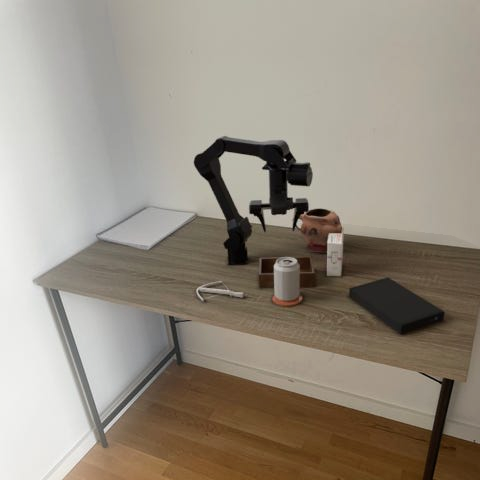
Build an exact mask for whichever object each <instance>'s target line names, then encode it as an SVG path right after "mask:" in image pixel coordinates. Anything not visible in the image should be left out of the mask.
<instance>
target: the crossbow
mask: <svg viewBox="0 0 480 480" xmlns="http://www.w3.org/2000/svg"><path fill="white" fill-rule="evenodd" d="M219 284H223V285H225V284H224V282H223V281H222V280H219V281H214V282H209V283H207V284H203V285H200V286H198V287H197V288H196V290H195V291H196V295H197V297H198V298H199V299H200V300H201V301H202V302H205V299H209V298H210V296H208V297H205V298H204V297H202V296H201V295H200V293H199V292H201V293H212V294H215V297H217V296H219V295H229V296H230V298H232V297H237V298H241V299H242V298H244V297H245V294H244V292H243V291H242V292H238V291H233V290H230V289H229V288H228V287H226V289H220V288H219V289H218V288H209V287H212V286H215V285H219ZM212 297H214V295H213V296H211V298H212Z"/></svg>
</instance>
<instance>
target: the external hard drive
mask: <svg viewBox="0 0 480 480" xmlns="http://www.w3.org/2000/svg"><path fill="white" fill-rule="evenodd" d="M348 297H349V298H350V299H352V300H353V301H354V302H355V303H357V304H358V305H360V306H361V307H362V308H364V309H365V310H366V311H368V312H369V313H371V314H372V315H373V316H375V317H377V318H378V319H379V320H380V321H382V322H383V323H384V324H386V325H387V326H388V327H390V328H391V329H393V330H394V331H395V332H397V333H398V334H399V335H401V336H402V335H404V334H408V333H410V332H413V331H417V330H420V329H422V328H426V327H429V326H432V325H434V324H437V323H440V322H443V321H444V318H445V317H444V316H445V311H444V310H443V309H441V308H440V307H438V306H436V305H434V304H433V303H431V302H429V301H428V300H427V299H424V298H423V297H421V296H420V295H418V294H416V293H414V292H413V291H411V290H410V289H408V288H407V287H405V286H403V285H401V284H400V283H399V282H397V281H395V280H393V279H392V278H391V277H383V278H380V279H377V280H374V281H370V282H366V283H363V284H359V285H356V286H353V287H350V288H349V291H348Z"/></svg>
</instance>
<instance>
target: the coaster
mask: <svg viewBox="0 0 480 480" xmlns="http://www.w3.org/2000/svg"><path fill="white" fill-rule="evenodd" d="M302 301H303V295H302V294H301V293H300V292H299V296H298V297H297V298H296V299H295V300H293V301H287V302H286V301H281V300H279V299H278V298H276V297H275V293H274V294H273V295H272V302H273V303H274V304H276V305H277V306H281V307H293V306H296V305H299V304H300V303H302Z"/></svg>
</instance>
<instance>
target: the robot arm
mask: <svg viewBox="0 0 480 480" xmlns="http://www.w3.org/2000/svg"><path fill="white" fill-rule="evenodd" d="M225 153H232V154H238V155H245V156H250V157H256V158H259V159H260V160H261V161H264V162H265V164H264V165H263V166H262V167H261V170H262V171H268V193H269V194H268V195H269V199H268V201H269V202H265V203H263V202H262V200H261V199H255V200H253V199H251V200H250V201H249V205H248V210H249V211H248V214H249V215H253V217H257V218H258V220H259V222H260V225H261V227H262V229H263V232H264V233H266V232H267V227H266V220H265V214H264V213H265V212H264V210H270V214H271V216H277V215H281V216H284V215H287V213H288V211H291V210H293V217H292V232H295V230H296V228H295V227H296V225H297V223H298V221H299V220H300V219H299V217H300V215H302V214H305V213H306V212H308V211H309V210H310V209H309V208H310V204H309V200H308V199H307V197H301V198H295V201H294V197H289V196H288V195H289V194H288V193H289V192H288V184H289V185H290V186H293V187H294V186H295V187H307V188H308V187H310V186H311V184H312V182H313V178H314V177H313V173H314V172H313V169H312V166H311V162H310V161H309V162H308V161H307V162H306V161H305V162H297V159H296V157H295V156H294V154H293V153H292V151H291V150H290V146H289V144H288V142H287V141H286V140H284V139H272V140H266V141H258V140H250V139H243V138H237V137H230V136H227V135H223V136H220V137H218V138H217V139H216V140H215V141H214V142H213V143H211V145H210V146H209V147H207V148H206V149H205V150H204V151H201V152H200V153H198V154H196V155H195V157H194V159H193V166H194V168H195V169H196V171H197V173H198V174H199V175H200V176H201V177H202V178H203V179H204V180H206V182H207V183H208V185H209V187H210V189H211V192H212V193H213V195H214V198H215V200H216V202H217V204H218V206H219V208H220V210H221V212H222V214H223V216H224V218H225V220H226V221H225V222H226V231H227V232H226V233H227V235H228V238H227V239H226V240H225V241H224V242H223V243H222V245H223V247H224V249H225V250H227V251H226V252H227V265H229V266H234V265H247V261H248V259H249V252H248V247H247V245H246V243H247V242H248V239H250V237H251V236H252V233H253V229H252V228H253V226H252V223H251V222H250V219H249V217H248V216H245V217H244V216H242V215H241V214H240V213H239V211H238V209H237V208H238V207H237V206H236V204H235V202H234V200H233V197H232V195H231V194H230V191H229V189H228V187H227V184H226V182H225V180H224V178H223V176H222V165H221V162H220V158H222V156H223V155H224V154H225Z"/></svg>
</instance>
